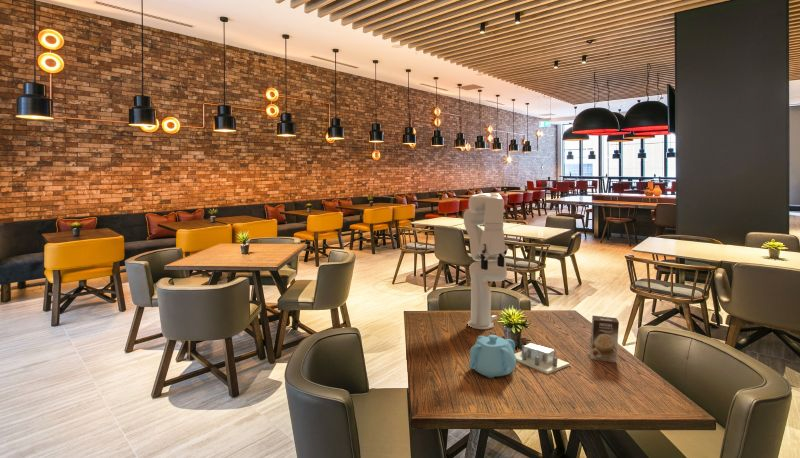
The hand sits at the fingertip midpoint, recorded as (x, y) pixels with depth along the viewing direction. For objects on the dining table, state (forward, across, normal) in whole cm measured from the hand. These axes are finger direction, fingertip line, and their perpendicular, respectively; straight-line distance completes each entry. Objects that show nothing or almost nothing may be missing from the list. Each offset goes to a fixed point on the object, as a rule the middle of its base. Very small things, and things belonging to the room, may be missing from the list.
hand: (492, 267), depth 180 cm
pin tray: (+34, -3, +22) cm, 40 cm away
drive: (+33, -3, +22) cm, 39 cm away
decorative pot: (+34, +18, +18) cm, 42 cm away
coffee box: (+34, -27, +34) cm, 55 cm away
